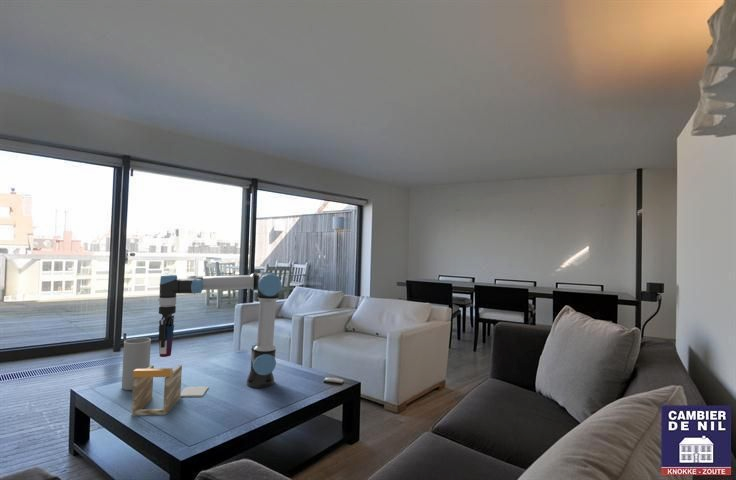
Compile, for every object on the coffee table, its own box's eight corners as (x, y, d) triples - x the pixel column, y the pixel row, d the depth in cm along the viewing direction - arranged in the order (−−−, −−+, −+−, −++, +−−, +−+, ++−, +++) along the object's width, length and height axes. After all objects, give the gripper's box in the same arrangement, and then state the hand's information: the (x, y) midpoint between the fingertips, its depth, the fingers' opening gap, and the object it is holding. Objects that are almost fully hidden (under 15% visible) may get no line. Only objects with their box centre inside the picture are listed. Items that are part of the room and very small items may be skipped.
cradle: (180, 397, 194) (181, 365, 194) (166, 414, 175) (168, 378, 176) (148, 398, 192) (150, 365, 192) (131, 415, 173) (133, 378, 173)
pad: (208, 388, 208) (208, 386, 208) (202, 396, 197) (202, 395, 197) (185, 388, 207) (185, 386, 207) (177, 397, 195) (178, 395, 195)
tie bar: (172, 374, 179) (172, 368, 179) (170, 376, 176) (170, 370, 176) (135, 375, 177) (136, 368, 177) (132, 377, 174) (133, 370, 174)
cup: (176, 354, 192) (177, 324, 192) (164, 358, 185) (166, 327, 186) (165, 352, 194) (166, 323, 194) (154, 356, 188) (155, 326, 188)
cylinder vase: (116, 388, 203) (118, 341, 203) (138, 380, 215) (140, 336, 215) (132, 392, 198) (134, 344, 199) (153, 384, 210) (156, 339, 210)
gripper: (166, 302, 199) (164, 346, 199) (151, 308, 180) (149, 357, 180) (181, 302, 200) (179, 346, 200) (168, 308, 181) (166, 357, 181)
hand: (165, 351), depth 190 cm, fingers closed on cup, 6 cm apart
